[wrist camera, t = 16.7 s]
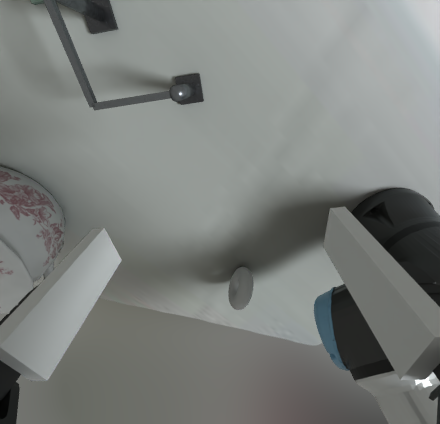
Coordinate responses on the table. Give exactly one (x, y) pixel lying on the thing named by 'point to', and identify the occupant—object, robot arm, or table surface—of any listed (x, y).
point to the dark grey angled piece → (102, 22)
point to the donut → (240, 288)
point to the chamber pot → (26, 235)
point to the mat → (37, 1)
